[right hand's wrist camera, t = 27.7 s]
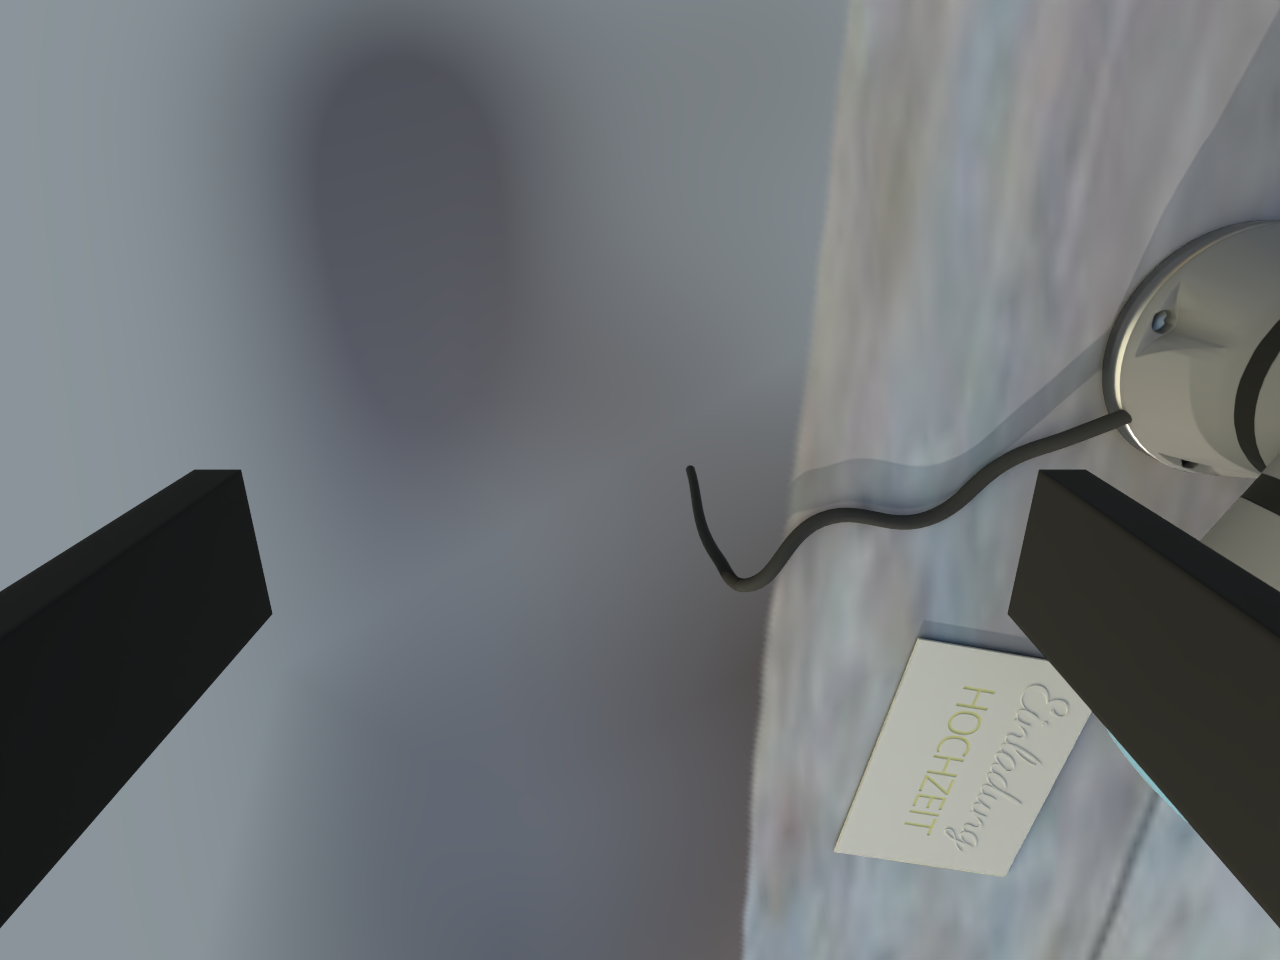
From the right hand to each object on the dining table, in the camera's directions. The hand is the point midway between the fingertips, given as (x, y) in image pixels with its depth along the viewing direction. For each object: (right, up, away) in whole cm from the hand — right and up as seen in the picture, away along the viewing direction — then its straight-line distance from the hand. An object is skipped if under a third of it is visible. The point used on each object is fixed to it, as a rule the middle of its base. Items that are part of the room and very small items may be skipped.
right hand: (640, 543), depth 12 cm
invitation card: (+26, -21, +45) cm, 56 cm away
